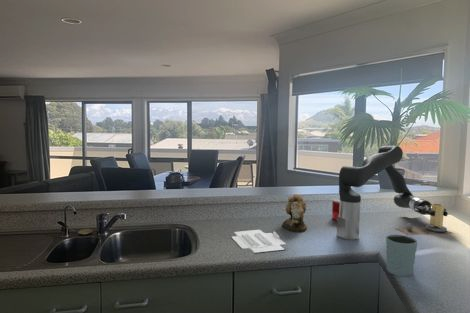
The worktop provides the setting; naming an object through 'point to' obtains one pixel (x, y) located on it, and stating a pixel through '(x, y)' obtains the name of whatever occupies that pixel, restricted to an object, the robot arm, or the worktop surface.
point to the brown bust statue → (295, 214)
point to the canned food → (335, 209)
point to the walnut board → (417, 230)
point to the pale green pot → (400, 254)
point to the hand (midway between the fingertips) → (440, 214)
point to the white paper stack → (258, 241)
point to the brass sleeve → (437, 215)
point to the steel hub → (436, 229)
